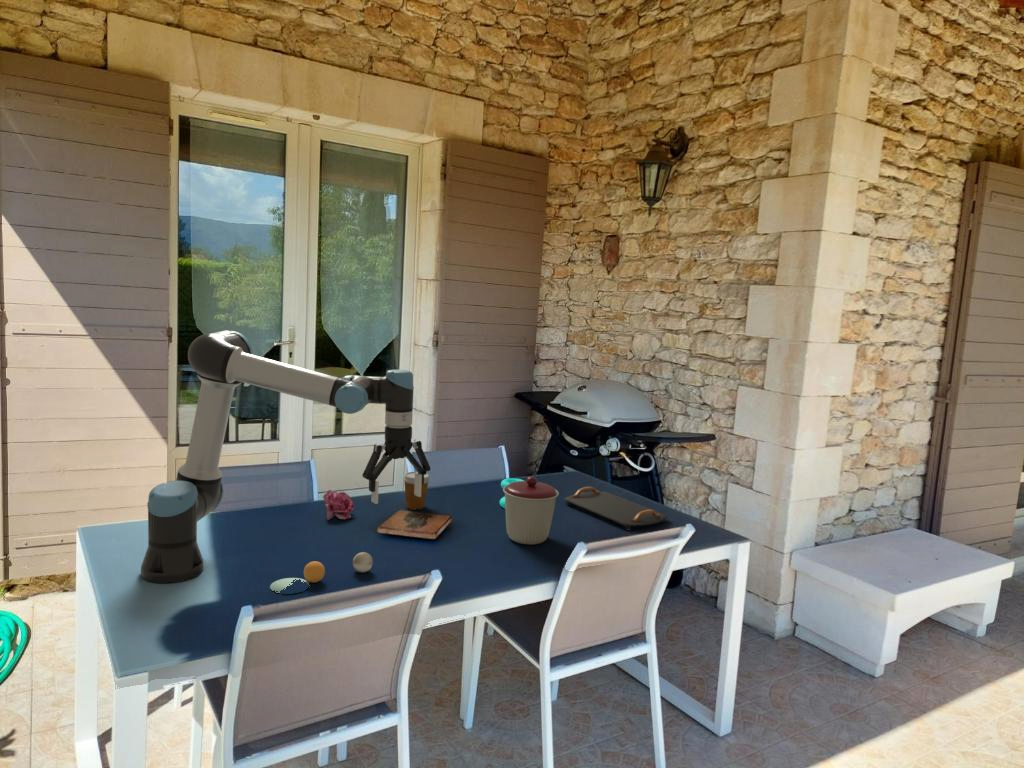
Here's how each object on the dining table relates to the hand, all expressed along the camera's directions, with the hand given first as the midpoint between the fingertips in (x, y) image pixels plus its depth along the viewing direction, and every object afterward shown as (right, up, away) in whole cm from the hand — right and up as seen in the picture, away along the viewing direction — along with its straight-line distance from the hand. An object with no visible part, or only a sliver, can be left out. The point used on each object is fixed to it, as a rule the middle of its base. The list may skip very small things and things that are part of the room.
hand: (396, 499), depth 202 cm
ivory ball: (-9, -17, -3) cm, 20 cm away
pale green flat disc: (-25, -20, -15) cm, 36 cm away
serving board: (+71, -16, +66) cm, 98 cm away
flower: (-26, -13, +41) cm, 50 cm away
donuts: (+33, -13, +64) cm, 73 cm away
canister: (+38, -18, +32) cm, 52 cm away
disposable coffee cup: (-2, -12, +56) cm, 57 cm away
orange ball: (-20, -18, -12) cm, 29 cm away
